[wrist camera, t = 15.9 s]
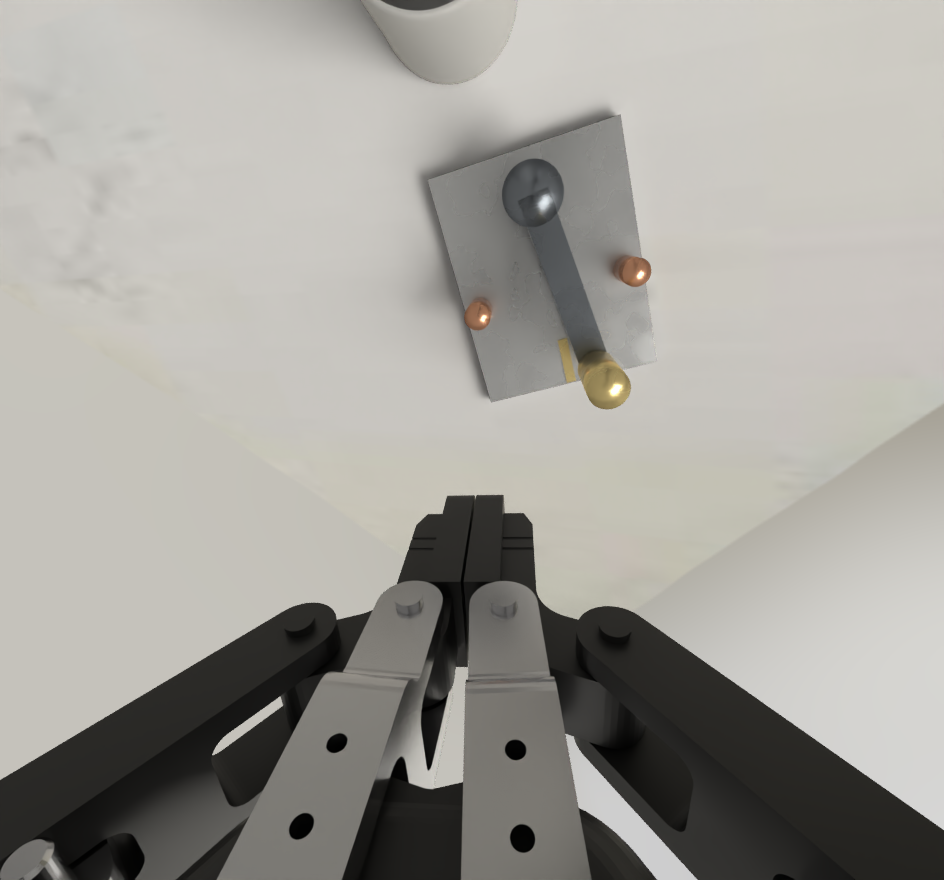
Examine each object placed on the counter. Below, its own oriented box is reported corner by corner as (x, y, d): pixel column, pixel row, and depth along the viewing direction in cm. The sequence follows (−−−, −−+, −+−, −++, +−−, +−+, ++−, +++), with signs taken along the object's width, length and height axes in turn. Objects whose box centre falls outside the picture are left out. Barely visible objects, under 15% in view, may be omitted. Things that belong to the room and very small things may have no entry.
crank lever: (493, 179, 32) (488, 167, 26) (548, 150, 31) (557, 131, 25) (574, 387, 37) (585, 418, 31) (623, 368, 36) (645, 396, 30)
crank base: (429, 181, 34) (419, 175, 31) (618, 117, 32) (631, 102, 28) (491, 399, 40) (489, 416, 36) (654, 358, 38) (669, 372, 34)
